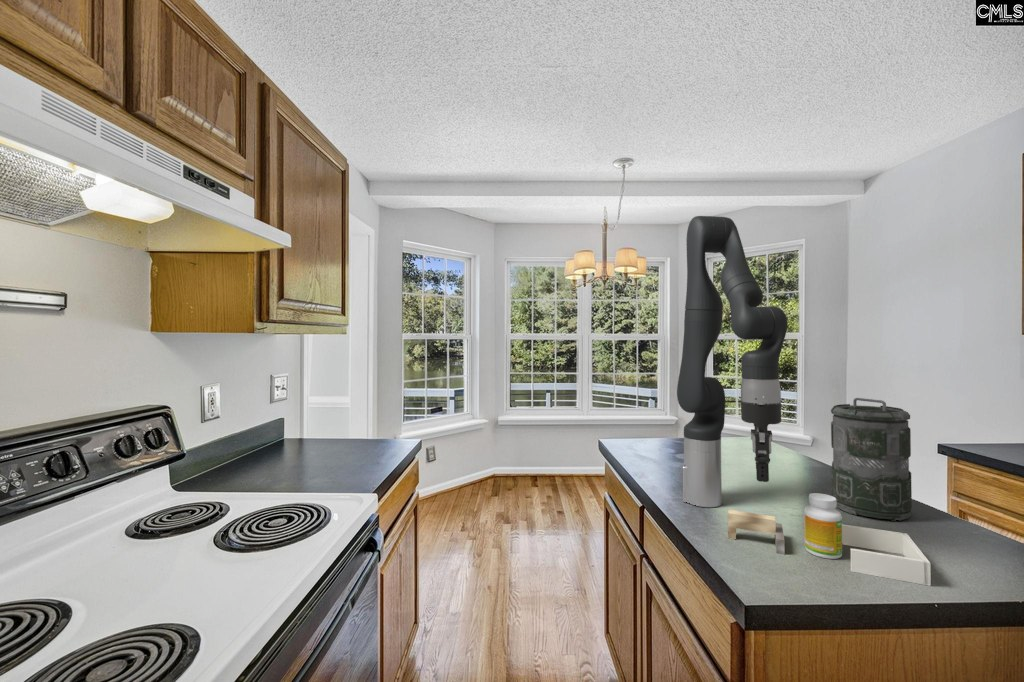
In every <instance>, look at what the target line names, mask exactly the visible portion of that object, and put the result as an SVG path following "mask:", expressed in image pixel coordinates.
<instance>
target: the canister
mask: <svg viewBox="0 0 1024 682" xmlns="http://www.w3.org/2000/svg"><path fill="white" fill-rule="evenodd" d="M857 401H861V402H870V403H871V402H872V403H879V404H882V405H880V406H874V405H857ZM852 403H853V404H852V405H851V404H850V403H847V404H846V403H844V404H835V405H834V406H832V408H831V409H830V413H831V414H832V421H831V422H830V431H831V432H830V437H831V438H830V439H831V441H830V442H831V448H832V452H833V453H832V459H833V460H832V463H831V469H830V471H831V496H833V497H835V498H836V501H837V507H836V508H838V509H840V510H841V511H844V512H845V513H848V514H851V515H853V514H854V516H856V515H858V516H863V517H867V518H873V519H880V520H881V519H882V520H891V521H892V520H893V521H892V522H897V521H896V520H899V521H903V520H907V519H909V518H910V517H911V515H912V506H913V505H912V502H913V501H912V498H913V497H912V493H913V491H912V472H911V470H910V469H909V468H910V463H909V461H910V457H911V455H912V454H911V453H912V444H911V443H912V442H911V441H912V439H911V433H912V432H911V428H910V427H909V421H908V420H910V419H911V414H910V413H909V412H908V411H906V410H904V409H902V408H901V407H893V406H888V405H887V403H886V402H885V401H884V400H881V399H873V398H865V397H864V398H863V397H855V398H854V399H853V402H852Z"/></svg>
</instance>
